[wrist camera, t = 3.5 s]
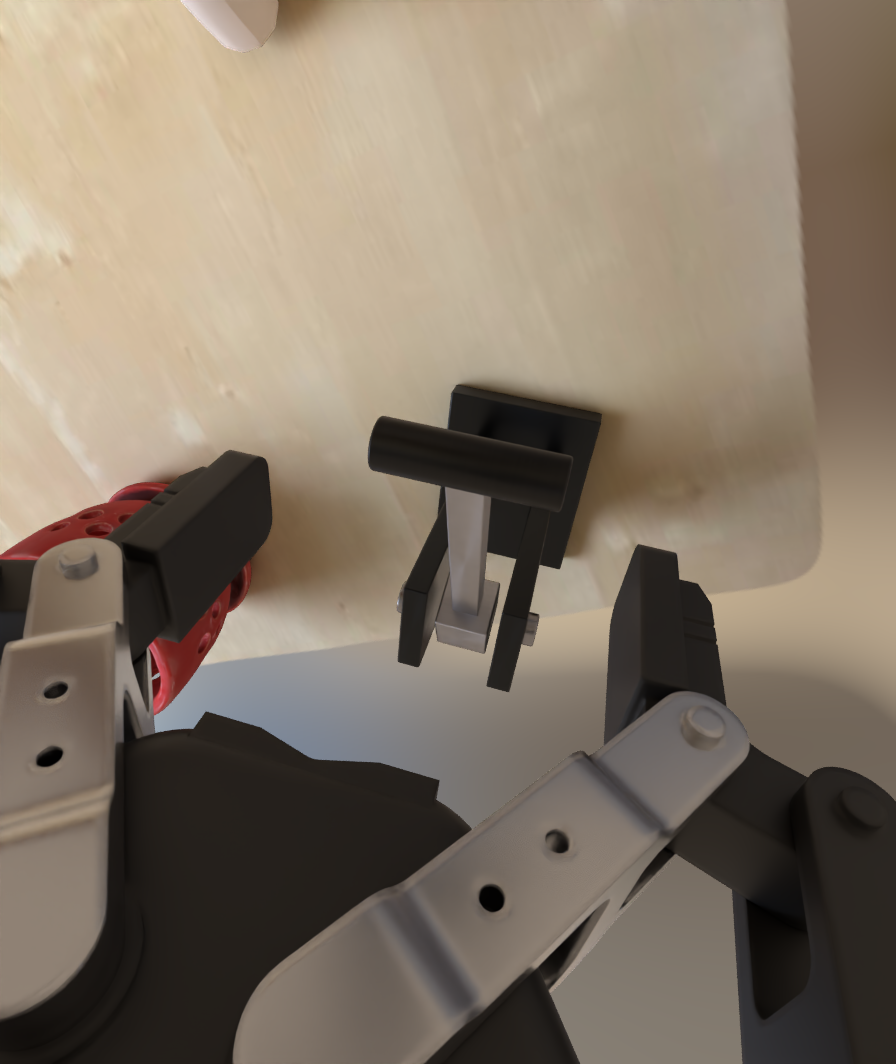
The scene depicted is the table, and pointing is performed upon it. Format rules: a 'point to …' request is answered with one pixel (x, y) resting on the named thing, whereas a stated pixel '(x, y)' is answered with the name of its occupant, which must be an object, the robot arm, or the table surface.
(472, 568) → the lever
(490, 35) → the table surface
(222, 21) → the faucet
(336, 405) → the table surface
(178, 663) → the flower pot
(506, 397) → the bracket
